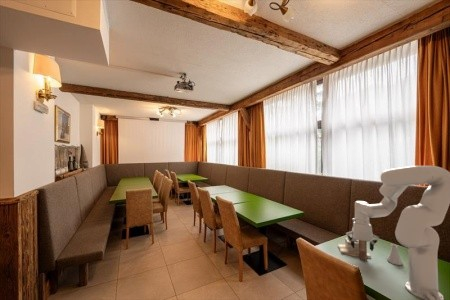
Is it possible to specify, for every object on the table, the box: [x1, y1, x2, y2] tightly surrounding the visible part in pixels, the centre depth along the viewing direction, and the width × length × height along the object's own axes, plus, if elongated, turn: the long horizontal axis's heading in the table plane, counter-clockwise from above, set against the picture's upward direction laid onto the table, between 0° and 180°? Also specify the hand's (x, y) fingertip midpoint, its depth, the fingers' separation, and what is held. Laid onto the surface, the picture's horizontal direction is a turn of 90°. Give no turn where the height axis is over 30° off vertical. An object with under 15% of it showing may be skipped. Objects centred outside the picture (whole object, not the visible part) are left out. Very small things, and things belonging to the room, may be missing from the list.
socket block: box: [337, 236, 372, 259], centre depth 128 cm, size 12×16×8 cm
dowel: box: [358, 240, 368, 262], centre depth 119 cm, size 4×4×12 cm
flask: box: [386, 244, 404, 266], centre depth 116 cm, size 7×7×10 cm
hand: (362, 248), depth 120 cm, fingers open, 9 cm apart
